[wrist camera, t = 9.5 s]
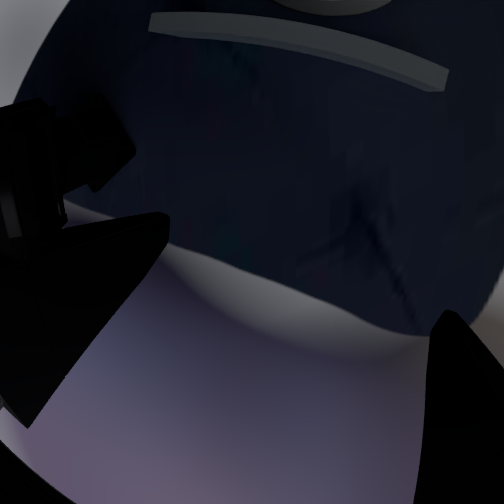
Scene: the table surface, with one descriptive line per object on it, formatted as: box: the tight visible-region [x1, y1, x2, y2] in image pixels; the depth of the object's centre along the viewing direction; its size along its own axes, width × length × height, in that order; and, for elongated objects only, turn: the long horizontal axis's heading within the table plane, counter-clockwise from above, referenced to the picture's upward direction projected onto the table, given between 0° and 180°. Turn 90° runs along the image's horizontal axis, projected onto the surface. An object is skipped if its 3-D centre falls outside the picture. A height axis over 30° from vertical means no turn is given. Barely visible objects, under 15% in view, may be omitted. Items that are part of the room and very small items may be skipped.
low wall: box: [148, 12, 449, 92], centre depth 14 cm, size 16×1×4 cm, turn 77°
